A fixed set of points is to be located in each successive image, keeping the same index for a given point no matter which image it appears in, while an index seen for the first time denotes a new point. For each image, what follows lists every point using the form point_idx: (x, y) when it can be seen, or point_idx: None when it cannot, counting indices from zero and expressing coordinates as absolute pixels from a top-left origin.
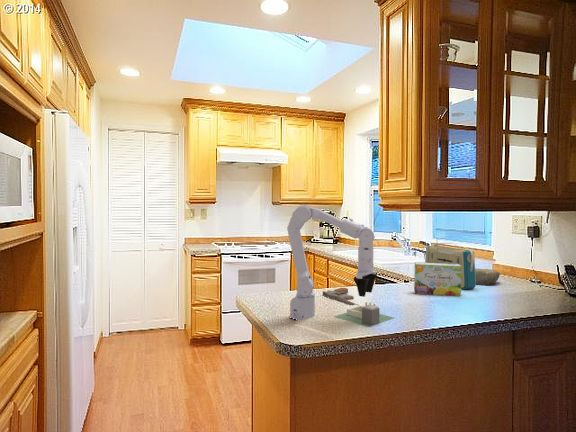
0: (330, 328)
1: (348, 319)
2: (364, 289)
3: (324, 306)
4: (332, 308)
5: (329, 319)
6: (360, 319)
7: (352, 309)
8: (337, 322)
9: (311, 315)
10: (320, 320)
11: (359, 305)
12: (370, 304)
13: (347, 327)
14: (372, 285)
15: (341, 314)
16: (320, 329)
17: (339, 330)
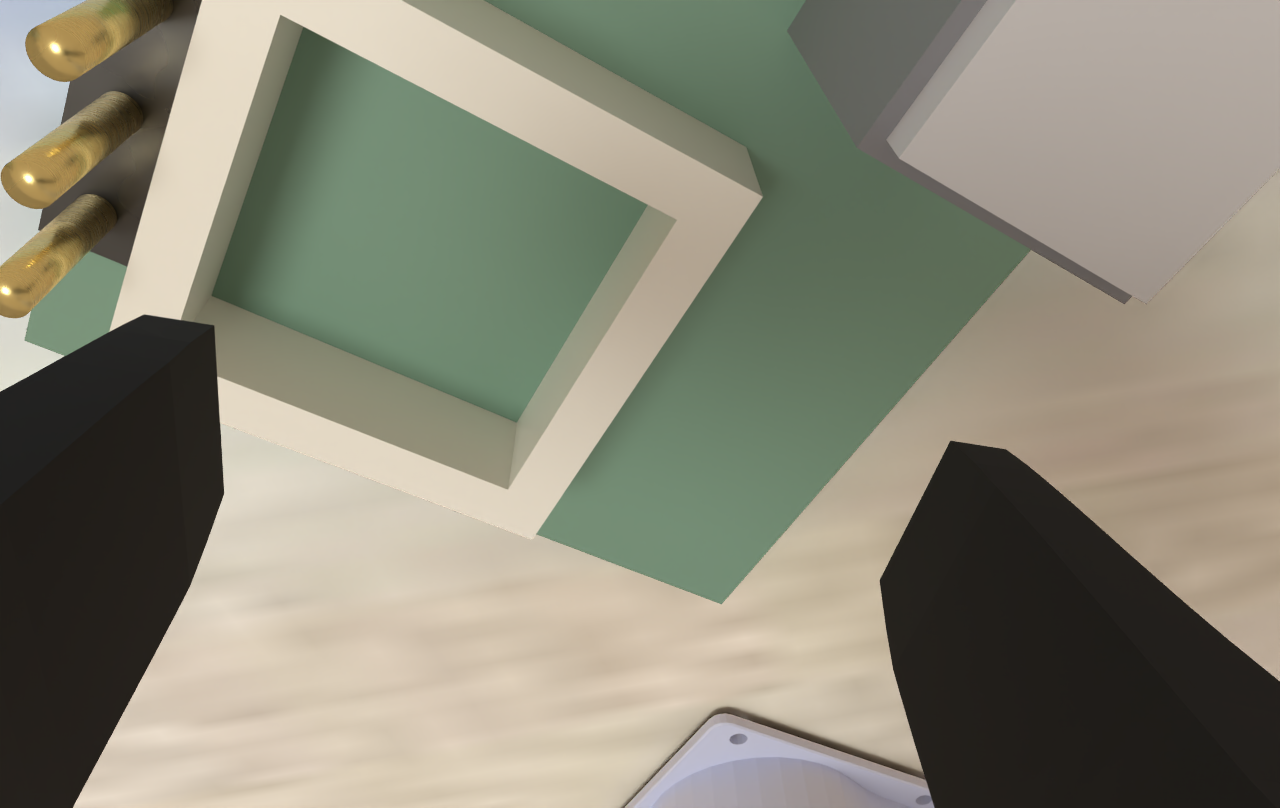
0: (1164, 526)
1: (827, 400)
2: (1212, 674)
3: (144, 761)
4: (175, 675)
5: (745, 608)
6: (777, 214)
7: (446, 451)
8: (866, 503)
9: (838, 802)
10: (819, 678)
11: None
12: (67, 160)
13: (1109, 340)
14: (19, 491)
15: (568, 535)
16: (1206, 609)
17: (1262, 414)
